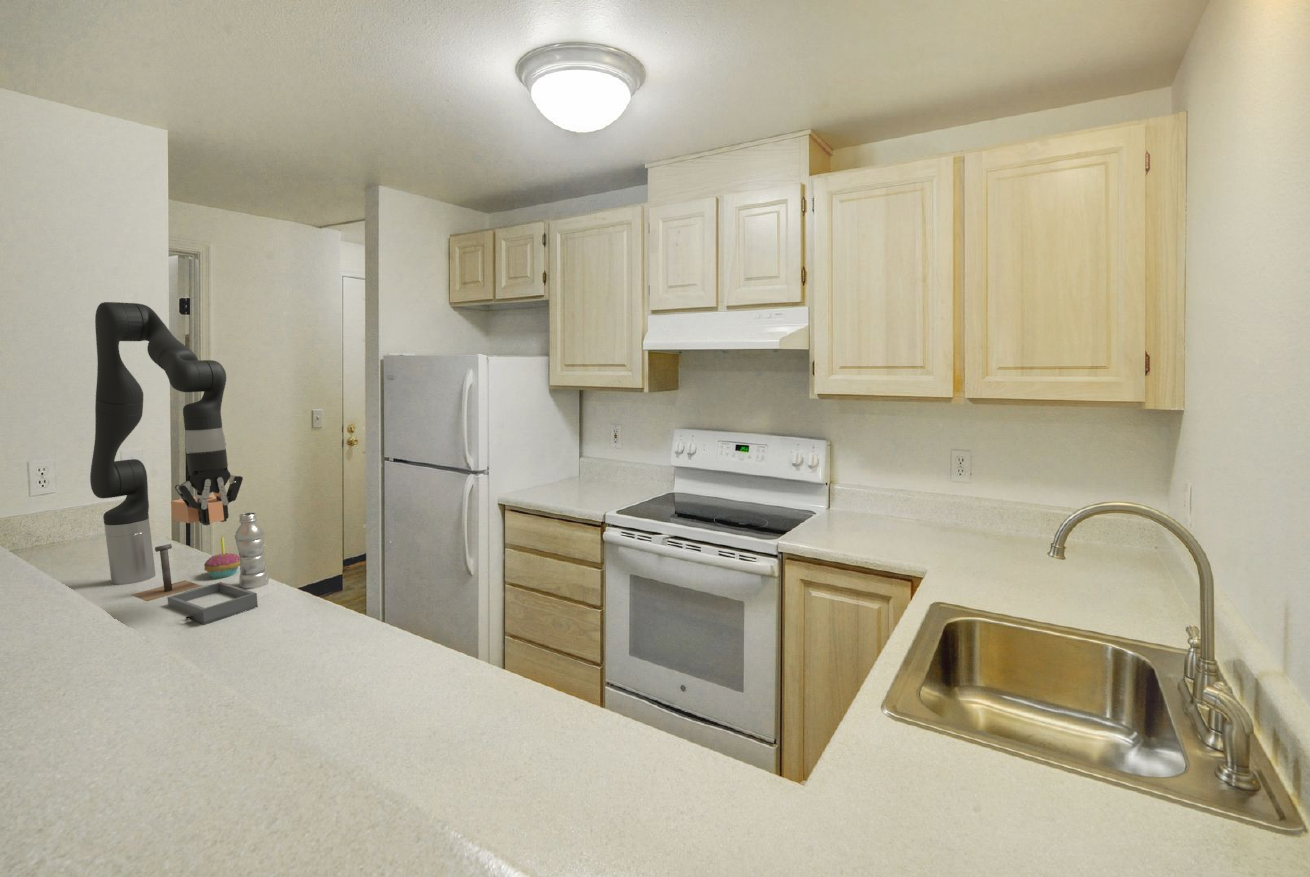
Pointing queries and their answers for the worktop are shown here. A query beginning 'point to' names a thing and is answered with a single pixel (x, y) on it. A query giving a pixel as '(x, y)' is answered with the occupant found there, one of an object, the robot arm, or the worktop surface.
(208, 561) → the cupcake
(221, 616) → the tray
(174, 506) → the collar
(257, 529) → the plastic bottle
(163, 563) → the stake stand
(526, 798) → the worktop surface
